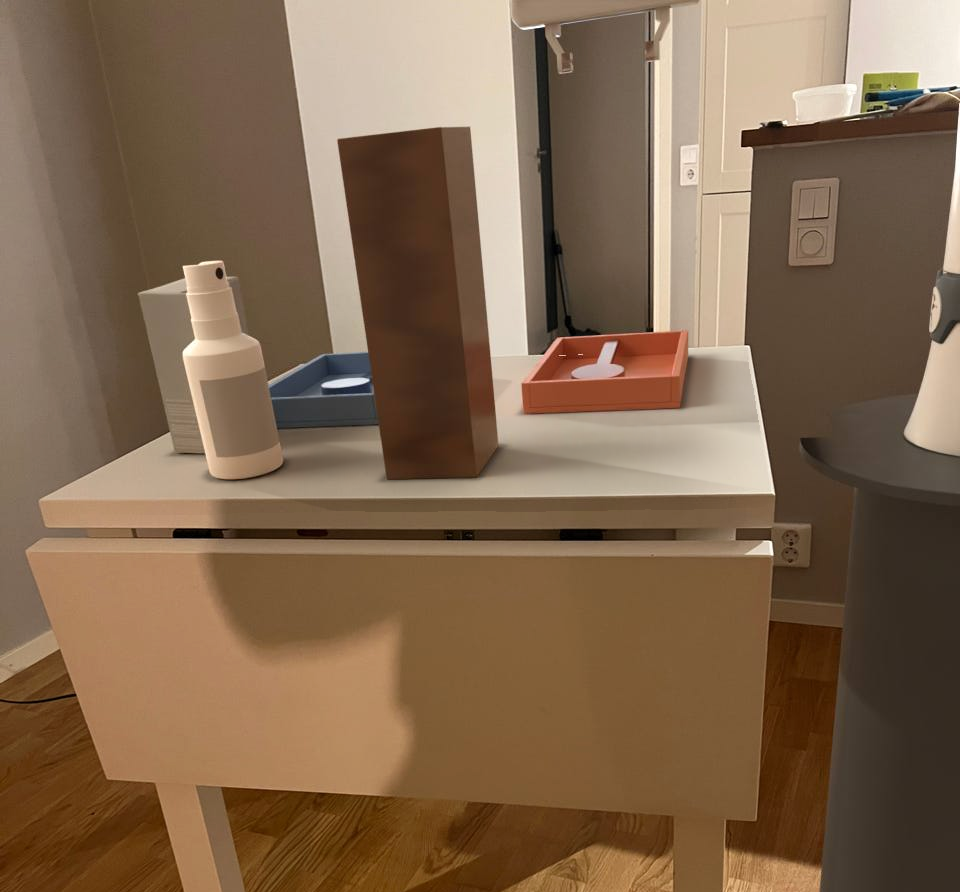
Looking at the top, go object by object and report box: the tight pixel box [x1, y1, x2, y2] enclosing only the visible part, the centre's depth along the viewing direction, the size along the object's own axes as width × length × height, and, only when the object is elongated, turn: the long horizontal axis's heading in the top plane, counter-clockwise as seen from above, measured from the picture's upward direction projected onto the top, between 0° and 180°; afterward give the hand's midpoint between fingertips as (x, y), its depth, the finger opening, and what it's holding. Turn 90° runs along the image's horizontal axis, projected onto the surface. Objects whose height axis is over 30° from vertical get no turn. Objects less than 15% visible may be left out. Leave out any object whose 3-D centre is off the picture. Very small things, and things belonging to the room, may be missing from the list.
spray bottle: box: [182, 260, 284, 480], centre depth 85 cm, size 7×7×18 cm
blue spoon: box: [321, 372, 372, 395], centre depth 115 cm, size 6×18×2 cm, turn 167°
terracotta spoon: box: [571, 339, 625, 379], centre depth 106 cm, size 6×18×2 cm, turn 167°
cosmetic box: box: [137, 276, 250, 454], centre depth 95 cm, size 8×7×16 cm
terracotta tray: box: [520, 329, 689, 415], centre depth 105 cm, size 16×24×3 cm, turn 167°
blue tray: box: [268, 351, 379, 429], centre depth 110 cm, size 16×24×3 cm, turn 167°
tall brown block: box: [336, 125, 499, 480], centre depth 79 cm, size 8×9×26 cm
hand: (608, 66), depth 103 cm, fingers open, 8 cm apart
